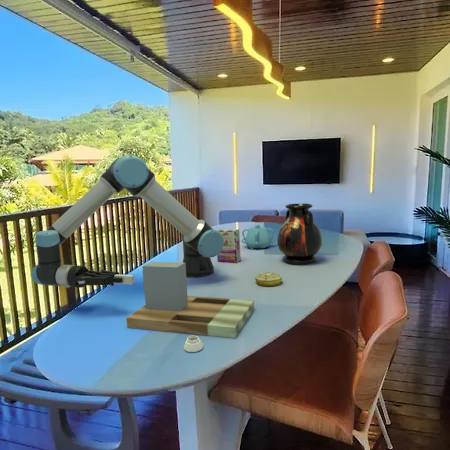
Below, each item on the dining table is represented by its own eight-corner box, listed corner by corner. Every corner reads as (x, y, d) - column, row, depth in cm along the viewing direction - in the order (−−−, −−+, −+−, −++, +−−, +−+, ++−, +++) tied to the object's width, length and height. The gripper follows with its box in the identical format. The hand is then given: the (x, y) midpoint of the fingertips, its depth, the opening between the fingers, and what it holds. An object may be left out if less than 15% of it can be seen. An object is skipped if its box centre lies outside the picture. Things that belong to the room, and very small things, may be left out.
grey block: (154, 302, 124) (151, 261, 122) (187, 304, 120) (185, 262, 118) (145, 308, 118) (142, 266, 116) (180, 311, 114) (177, 267, 112)
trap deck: (161, 302, 132) (160, 294, 132) (254, 309, 122) (253, 300, 121) (127, 327, 112) (126, 317, 111) (235, 338, 101) (234, 327, 101)
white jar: (180, 348, 97) (190, 355, 93) (179, 337, 96) (189, 344, 92) (196, 342, 100) (206, 349, 96) (196, 332, 99) (206, 338, 95)
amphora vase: (269, 260, 187) (267, 205, 183) (303, 254, 197) (302, 201, 193) (295, 269, 168) (294, 207, 164) (331, 262, 178) (331, 204, 174)
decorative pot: (277, 247, 217) (277, 224, 215) (254, 251, 209) (253, 227, 207) (261, 243, 231) (261, 222, 229) (239, 247, 223) (238, 224, 222)
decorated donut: (271, 278, 156) (271, 269, 156) (287, 284, 147) (287, 275, 146) (250, 282, 152) (250, 273, 151) (265, 289, 142) (264, 279, 142)
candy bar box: (241, 261, 188) (239, 229, 186) (236, 263, 184) (235, 230, 182) (221, 259, 193) (220, 228, 191) (217, 261, 189) (215, 230, 187)
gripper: (86, 281, 135) (143, 285, 128) (60, 292, 123) (122, 297, 116) (85, 261, 134) (142, 263, 127) (58, 270, 122) (120, 274, 115)
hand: (132, 279), depth 121 cm, fingers closed
